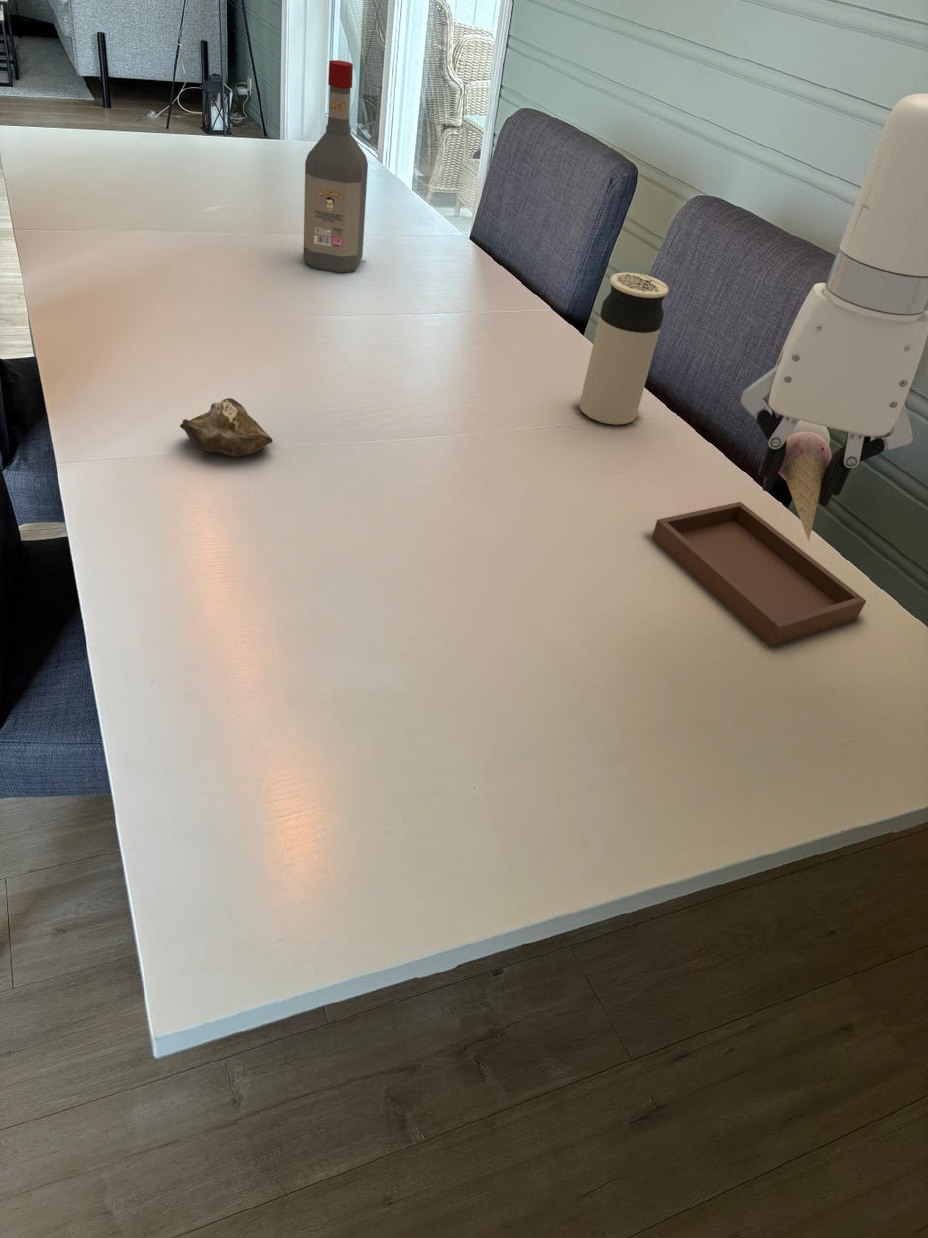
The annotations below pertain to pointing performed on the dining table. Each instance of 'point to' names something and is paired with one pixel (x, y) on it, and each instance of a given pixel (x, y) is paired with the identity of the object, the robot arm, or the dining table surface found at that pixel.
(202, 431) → the fossilized seashell
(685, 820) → the dining table surface
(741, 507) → the tray
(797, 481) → the ice cream cone
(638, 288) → the travel mug
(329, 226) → the liquor
